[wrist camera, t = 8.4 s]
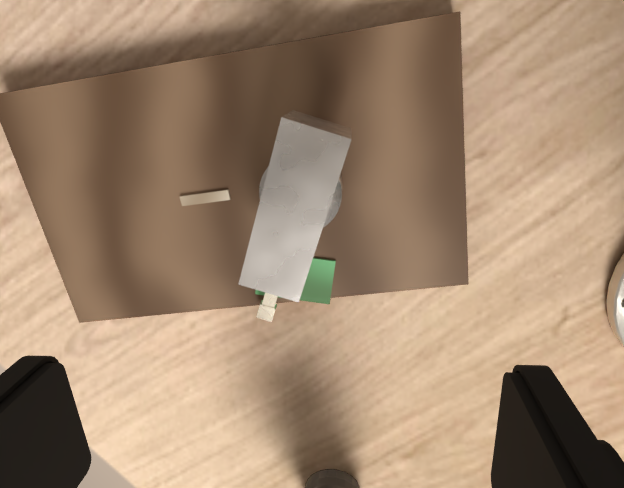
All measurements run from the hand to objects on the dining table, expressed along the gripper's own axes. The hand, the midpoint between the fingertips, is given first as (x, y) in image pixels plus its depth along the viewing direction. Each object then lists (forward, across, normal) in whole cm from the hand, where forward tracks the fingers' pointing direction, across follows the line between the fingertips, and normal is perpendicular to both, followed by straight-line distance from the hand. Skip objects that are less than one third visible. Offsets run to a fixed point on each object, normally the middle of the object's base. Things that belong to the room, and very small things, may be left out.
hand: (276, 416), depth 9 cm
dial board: (+19, +5, -1) cm, 19 cm away
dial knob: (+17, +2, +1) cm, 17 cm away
